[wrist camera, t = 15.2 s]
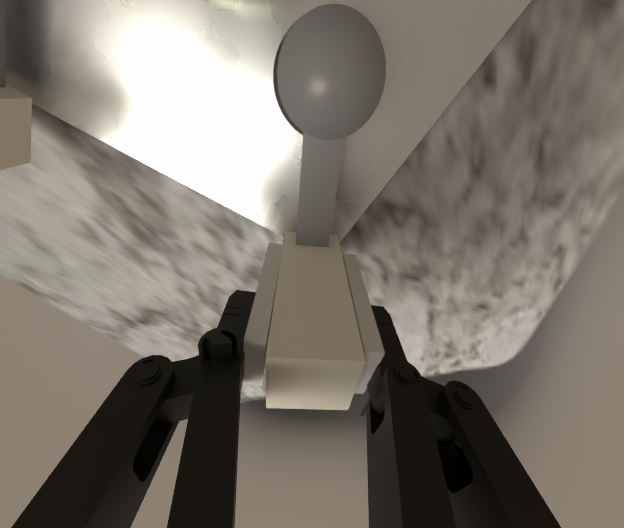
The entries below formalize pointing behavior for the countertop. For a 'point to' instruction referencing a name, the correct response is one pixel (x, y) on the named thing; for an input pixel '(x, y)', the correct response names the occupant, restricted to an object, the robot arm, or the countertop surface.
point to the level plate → (240, 88)
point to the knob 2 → (320, 209)
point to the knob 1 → (13, 115)
